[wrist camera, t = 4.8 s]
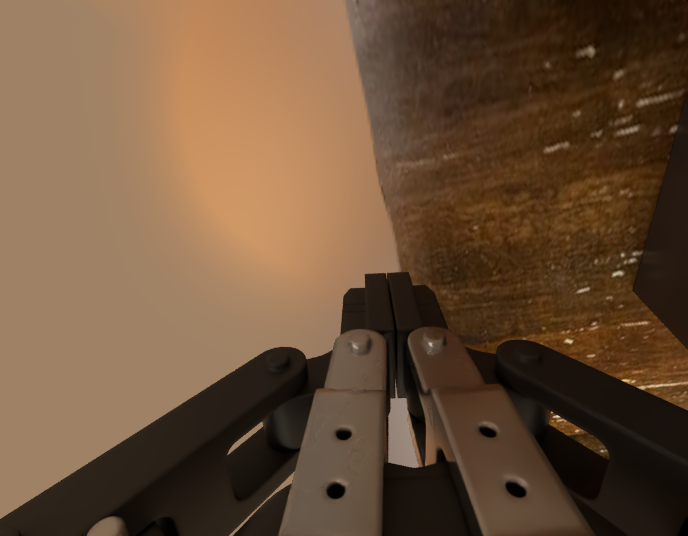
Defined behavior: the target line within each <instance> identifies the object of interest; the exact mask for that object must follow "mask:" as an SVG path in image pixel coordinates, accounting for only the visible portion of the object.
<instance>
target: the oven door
mask: <svg viewBox="0 0 688 536" xmlns="http://www.w3.org/2000/svg"><path fill="white" fill-rule="evenodd" d="M633 292H634V293H635V294H636V295H637V296H638V297H639V298H640V299H641V300H642V301H643V302H644V304H645V305H646V306H647V307H648V308H649V309H650V310H651V311H652V312H653V313H654V314H655V315H656V316H657V317H658V319H659V320H660V321H661V322H662V323H663V324H664V325H665V326H666V327H667V328H668V329H669V330H670V331H671V332H672V334H673V335H674V336H675V337H676V338H677V339H678V340H679V341H680V342H681V343H682V344H683V345H684V346H685V347H686V349H687V350H688V93H687V96H686V100H685V104H684V107H683V111H682V114H681V118H680V122H679V125H678V129H677V133H676V136H675V140H674V143H673V147H672V151H671V154H670V158H669V162H668V165H667V169H666V172H665V176H664V180H663V183H662V187H661V191H660V194H659V198H658V201H657V205H656V209H655V212H654V216H653V219H652V223H651V227H650V230H649V234H648V238H647V241H646V245H645V248H644V252H643V256H642V259H641V263H640V267H639V270H638V274H637V277H636V281H635V285H634V288H633Z"/></svg>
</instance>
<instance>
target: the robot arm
mask: <svg viewBox="0 0 688 536" xmlns="http://www.w3.org/2000/svg"><path fill="white" fill-rule="evenodd" d="M395 380H396V388H397V396H398V398H406V399H407V409H408V410H407V420H408V425H409V429H410V433H411V437H412V441H413V445H414V449H415V453H416V457H417V461H418V465H419V467H418V468H411V467H406V466H402V465H397V464H392V463H388V415H389V413H390V398H395ZM551 412H553V413H555V414H557V415H558V416H560V417H562V418H564V419H565V420H567V421H569V422H570V423H572V424H574V425H576V426H577V427H579V428H581V429H583V430H584V431H586V432H588V433H589V434H591V435H593V436H594V437H596V438H597V439H599V440H600V441H601V442H602V443H603V444H604V446H605V447H606V449H607V450H608V452H609V456H610V460H607V459H605V458H603V457H602V456H600V455H598V454H597V453H595V452H593V451H592V450H590V449H588V448H587V447H585V446H584V445H582V444H580V443H579V442H577V441H575V440H574V439H572V438H570V437H569V436H567V435H565V434H564V433H562V432H560V431H559V430H557V429H556V428H554V427H552V426H551V425H549V424H548V423H549V418H550V413H551ZM260 422H263V427H262V428H261V429H260V430H258V431H257V432H256V433H255V434H253V435H252V436H251V437H250V438H248V439H247V440H246V441H245V442H243V443H242V444H241V445H240V446H239V447H238V448H236V449H235V450H234V451H232V452H231V453H230V454H229V455H227V454H228V451H229V450H230V448H231V447H232V445H233V444H234V443H235V442H236V441H238V440H239V439H240V438H241V437H243V436H244V435H245V434H246V433H248V432H249V431H250V430H251V429H252V428H254V427H255V426H257V425H258V424H259V423H260ZM294 471H295V473H294V477H293V481H292V484H290V485H288V486H286V487H285V488H283V489H282V490H280V491H279V492H277V493H276V494H275V495H273V496H272V497H271V498H270V499H268V500H267V501H266V502H265V503H264V504H263V505H262V506H261V507H260V508H259V509H258V510H257V511H256V512H255V513H254V514H253V515H252V516H251V517H250V518H249V520H248V521H247V522H246V523H245V524H244V525H243V526H242V527H241V528H240V529H239V530H238V531H237V532H236V533H235V534H234V535H233V536H688V411H687V410H685V409H683V408H681V407H679V406H676V405H674V404H672V403H670V402H668V401H665V400H663V399H661V398H659V397H656V396H654V395H652V394H650V393H648V392H645V391H643V390H641V389H639V388H637V387H634V386H632V385H630V384H628V383H625V382H623V381H621V380H619V379H617V378H614V377H612V376H610V375H608V374H606V373H603V372H601V371H599V370H597V369H595V368H592V367H590V366H588V365H586V364H583V363H581V362H579V361H577V360H575V359H572V358H570V357H568V356H566V355H564V354H561V353H559V352H557V351H555V350H552V349H550V348H548V347H546V346H544V345H541V344H539V343H536V342H532V341H528V340H510V341H506V342H503V343H502V344H500V345H499V346H498V348H497V350H496V354H492V353H486V352H480V351H476V350H472V349H469V348H466V347H465V346H464V344H463V342H462V340H461V339H460V337H459V336H458V335H457V334H455V333H454V332H452V331H450V330H449V329H448V326H447V324H446V321H445V319H444V316H443V314H442V311H441V309H440V306H439V304H438V302H437V299H436V296H435V293H434V292H433V291H432V290H431V289H429V288H428V287H427V286H425V285H416V286H413V285H412V282H411V279H410V275H409V272H397V273H387V279H386V273H377V274H365V288H351V289H349V290H348V292H347V293H346V294H345V295H344V297H343V310H342V322H341V334H340V336H339V337H338V338H337V339H336V340H335V343H334V347H333V350H331V351H330V352H328V353H326V354H324V355H322V356H318V357H315V358H311V359H307V360H306V357H305V355H304V353H303V352H301V351H300V350H298V349H296V348H292V347H278V348H273V349H270V350H268V351H265V352H263V353H262V354H260V355H258V356H257V357H255V358H254V359H252V360H250V361H249V362H247V363H246V364H245V365H243V366H241V367H239V368H238V369H236V370H235V371H233V372H232V373H230V374H228V375H227V376H225V377H224V378H222V379H221V380H219V381H217V382H216V383H214V384H213V385H211V386H210V387H208V388H206V389H205V390H203V391H202V392H200V393H198V394H197V395H195V396H194V397H192V398H191V399H189V400H187V401H186V402H184V403H183V404H181V405H180V406H178V407H176V408H175V409H173V410H172V411H170V412H168V413H167V414H165V415H164V416H162V417H161V418H159V419H157V420H156V421H154V422H153V423H151V424H150V425H148V426H146V427H145V428H143V429H142V430H140V431H139V432H137V433H135V434H134V435H132V436H131V437H129V438H128V439H126V440H124V441H123V442H121V443H120V444H118V445H116V446H115V447H113V448H112V449H110V450H108V451H107V452H105V453H104V454H102V455H101V456H99V457H97V458H96V459H94V460H93V461H91V462H90V463H88V464H86V465H85V466H83V467H82V468H80V469H79V470H77V471H75V472H74V473H72V474H71V475H69V476H68V477H66V478H64V479H63V480H61V481H60V482H58V483H56V484H55V485H53V486H52V487H50V488H49V489H47V490H45V491H44V492H42V493H41V494H39V495H38V496H36V497H34V498H33V499H31V500H30V501H28V502H27V503H25V504H23V505H22V506H20V507H19V508H17V509H15V510H14V511H12V512H11V513H9V514H8V515H6V516H4V517H3V518H1V519H0V536H229V535H230V534H231V533H232V532H233V531H234V530H235V529H236V528H237V527H238V526H239V525H240V524H241V523H242V522H243V521H244V520H245V519H246V518H247V517H248V516H249V515H250V514H251V513H252V512H253V511H254V510H255V509H256V508H257V507H258V506H260V504H262V503H263V502H264V501H265V500H266V498H267V497H269V496H270V495H271V494H272V493H273V492H274V491H275V490H276V489H277V488H278V487H279V486H280V485H281V484H282V483H283V482H284V481H285V480H286V479H287V478H288V477H289V476H290V475H291V474H292V473H293V472H294Z"/></svg>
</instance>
